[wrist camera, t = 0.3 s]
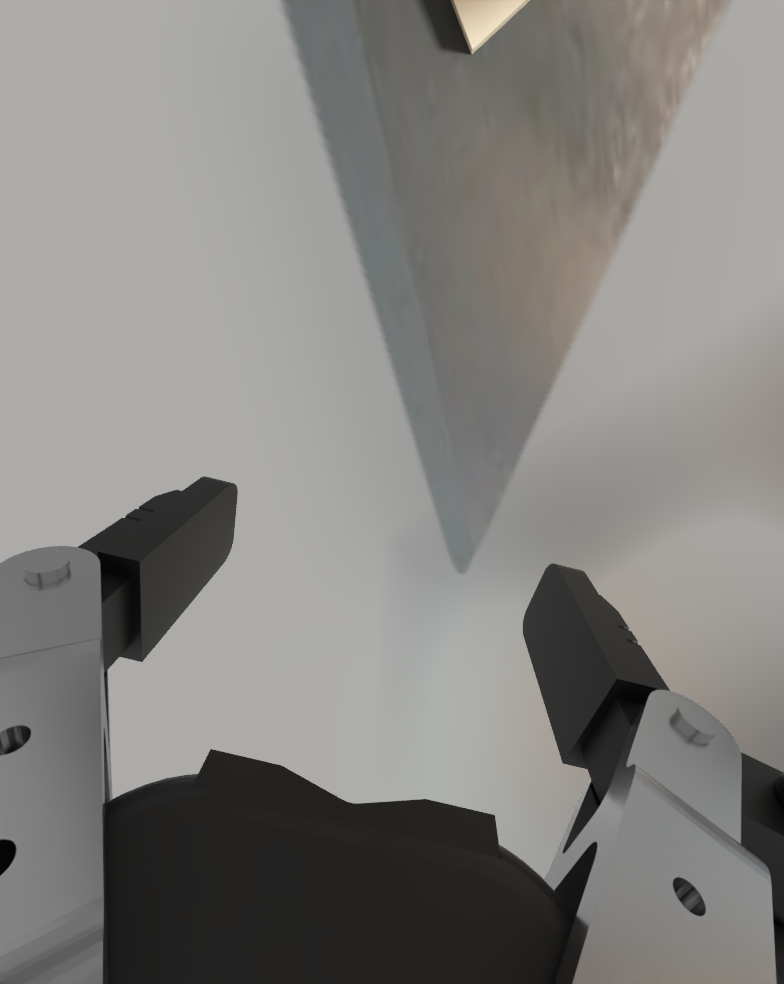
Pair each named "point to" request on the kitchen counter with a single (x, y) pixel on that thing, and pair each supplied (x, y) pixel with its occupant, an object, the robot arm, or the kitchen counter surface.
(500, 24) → the pad
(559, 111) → the kitchen counter surface
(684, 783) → the robot arm
